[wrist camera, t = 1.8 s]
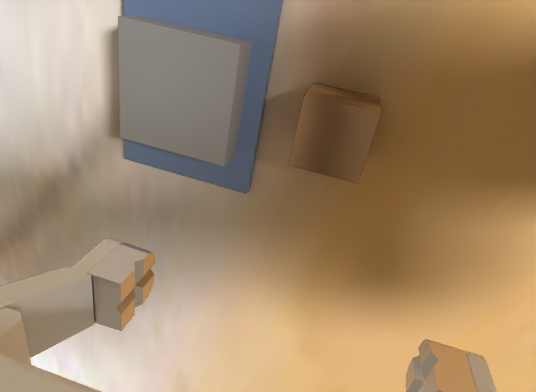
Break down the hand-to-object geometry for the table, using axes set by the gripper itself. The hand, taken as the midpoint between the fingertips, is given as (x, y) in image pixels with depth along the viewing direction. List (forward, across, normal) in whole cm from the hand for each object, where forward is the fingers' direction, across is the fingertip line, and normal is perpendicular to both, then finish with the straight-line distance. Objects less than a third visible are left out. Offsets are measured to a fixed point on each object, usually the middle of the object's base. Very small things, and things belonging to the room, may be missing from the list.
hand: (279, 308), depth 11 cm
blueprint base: (+21, +12, 0) cm, 24 cm away
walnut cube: (+21, 0, 0) cm, 21 cm away
